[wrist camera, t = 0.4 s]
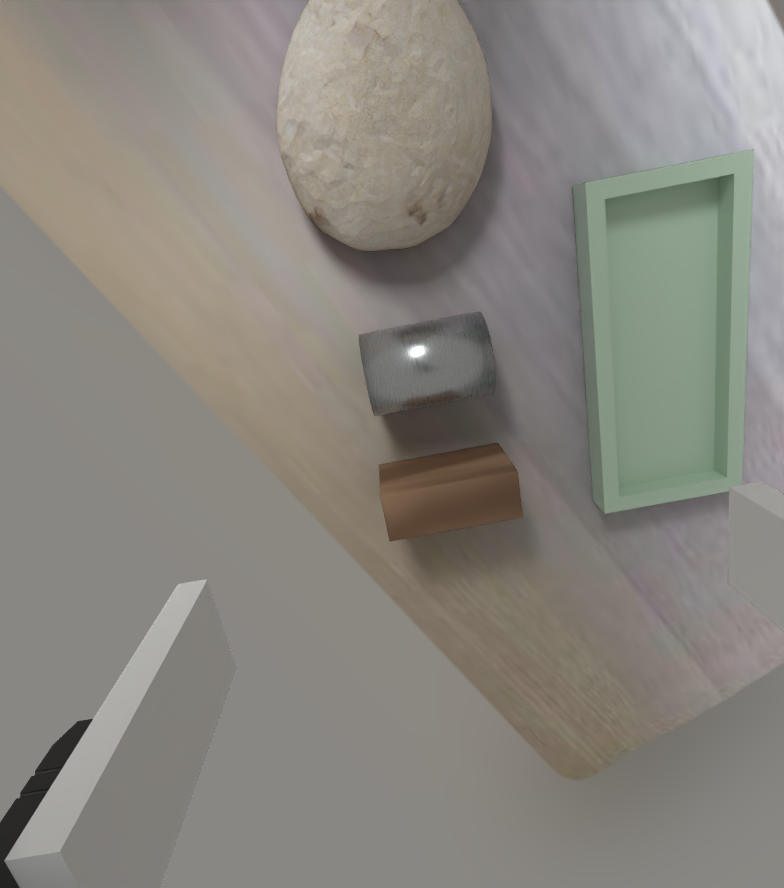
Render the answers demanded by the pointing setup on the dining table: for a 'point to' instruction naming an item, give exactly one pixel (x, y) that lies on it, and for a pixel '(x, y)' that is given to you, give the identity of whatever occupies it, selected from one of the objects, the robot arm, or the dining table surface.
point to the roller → (428, 363)
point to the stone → (384, 118)
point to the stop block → (449, 491)
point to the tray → (665, 328)
